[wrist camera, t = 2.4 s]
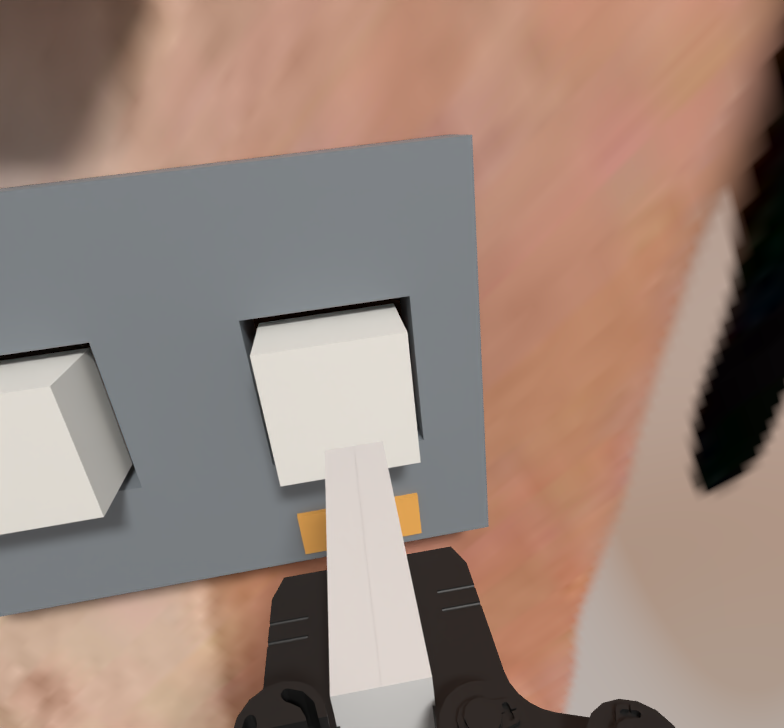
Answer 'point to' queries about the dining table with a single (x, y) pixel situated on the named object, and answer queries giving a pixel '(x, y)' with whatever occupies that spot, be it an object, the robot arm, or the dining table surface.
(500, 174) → the dining table surface
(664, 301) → the dining table surface
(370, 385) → the tagged button
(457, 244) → the breaker panel
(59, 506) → the button
